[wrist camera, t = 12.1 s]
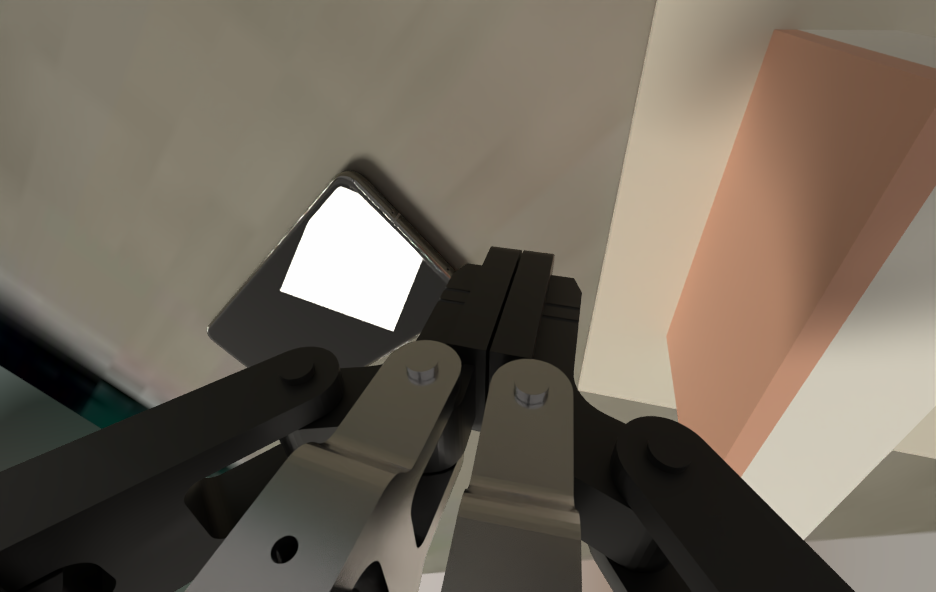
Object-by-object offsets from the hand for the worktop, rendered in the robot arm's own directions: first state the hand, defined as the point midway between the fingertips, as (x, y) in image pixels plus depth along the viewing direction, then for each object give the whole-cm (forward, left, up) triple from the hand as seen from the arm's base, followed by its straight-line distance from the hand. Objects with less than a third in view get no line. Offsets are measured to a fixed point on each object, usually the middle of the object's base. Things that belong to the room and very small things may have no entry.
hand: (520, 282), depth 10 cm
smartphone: (+7, -11, -6) cm, 14 cm away
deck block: (0, +6, -5) cm, 8 cm away
